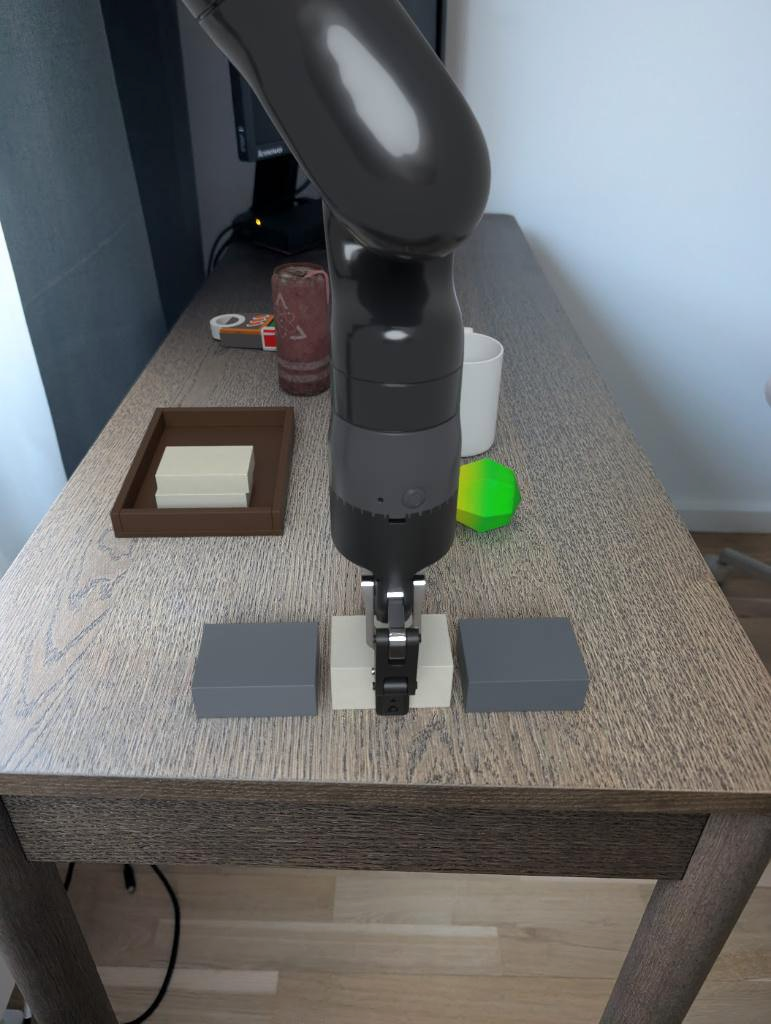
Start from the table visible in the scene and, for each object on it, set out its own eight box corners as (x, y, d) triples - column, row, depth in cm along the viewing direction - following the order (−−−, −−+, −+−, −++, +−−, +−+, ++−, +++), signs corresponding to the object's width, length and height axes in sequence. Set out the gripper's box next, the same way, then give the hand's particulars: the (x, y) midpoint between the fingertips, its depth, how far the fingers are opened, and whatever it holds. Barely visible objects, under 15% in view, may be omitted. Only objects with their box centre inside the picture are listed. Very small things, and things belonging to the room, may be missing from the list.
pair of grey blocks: (196, 718, 51) (190, 688, 50) (209, 653, 56) (204, 623, 55) (582, 710, 52) (590, 679, 51) (562, 646, 57) (568, 616, 56)
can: (331, 397, 90) (327, 278, 82) (276, 397, 90) (267, 277, 82) (333, 375, 95) (330, 260, 87) (281, 374, 95) (273, 260, 87)
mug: (493, 461, 79) (503, 365, 73) (416, 455, 80) (419, 360, 74) (495, 406, 89) (505, 318, 83) (427, 401, 89) (431, 314, 83)
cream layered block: (158, 513, 70) (151, 476, 67) (169, 482, 74) (162, 446, 71) (251, 512, 70) (247, 474, 68) (256, 481, 74) (253, 445, 72)
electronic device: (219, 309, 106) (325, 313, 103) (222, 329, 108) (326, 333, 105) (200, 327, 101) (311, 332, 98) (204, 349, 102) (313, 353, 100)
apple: (528, 451, 66) (423, 445, 66) (526, 524, 64) (418, 517, 65) (517, 475, 73) (421, 470, 73) (515, 541, 71) (417, 535, 72)
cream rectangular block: (332, 710, 52) (330, 668, 50) (333, 656, 56) (331, 615, 54) (450, 707, 52) (453, 666, 50) (442, 653, 57) (445, 613, 54)
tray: (115, 538, 68) (109, 513, 66) (159, 428, 84) (156, 407, 82) (282, 535, 68) (280, 511, 67) (295, 427, 84) (294, 406, 83)
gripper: (331, 413, 50) (337, 607, 60) (325, 550, 38) (334, 764, 48) (446, 412, 50) (434, 605, 60) (475, 548, 39) (454, 760, 48)
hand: (389, 675), depth 54 cm, fingers open, 5 cm apart
